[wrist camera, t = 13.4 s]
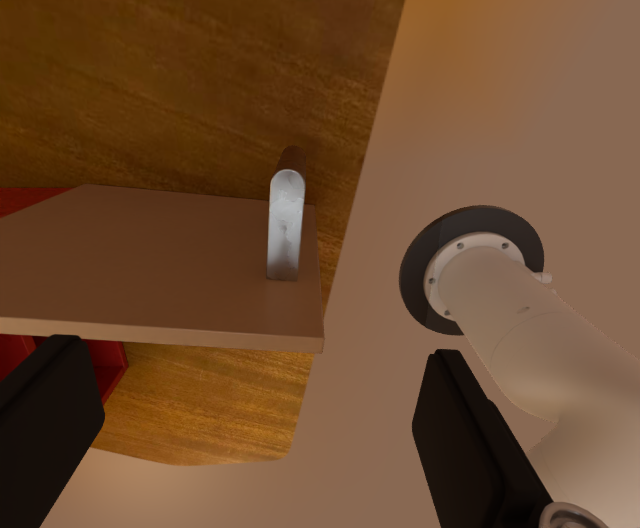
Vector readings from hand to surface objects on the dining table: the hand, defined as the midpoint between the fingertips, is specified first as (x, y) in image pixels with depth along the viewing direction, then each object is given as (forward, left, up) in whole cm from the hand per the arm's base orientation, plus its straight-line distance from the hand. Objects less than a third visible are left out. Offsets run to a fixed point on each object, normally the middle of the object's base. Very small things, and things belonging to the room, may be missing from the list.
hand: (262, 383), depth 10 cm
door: (+10, 0, -31) cm, 32 cm away
